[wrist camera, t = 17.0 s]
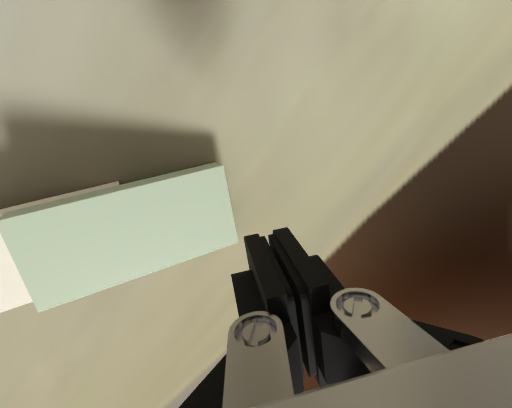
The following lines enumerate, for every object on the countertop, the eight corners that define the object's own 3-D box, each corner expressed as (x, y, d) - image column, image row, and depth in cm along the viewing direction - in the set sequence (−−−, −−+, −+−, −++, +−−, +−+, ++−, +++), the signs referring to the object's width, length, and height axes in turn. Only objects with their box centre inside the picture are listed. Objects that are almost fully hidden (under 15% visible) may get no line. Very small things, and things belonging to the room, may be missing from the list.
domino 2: (223, 165, 18) (-6, 221, 14) (238, 242, 19) (38, 312, 15) (214, 162, 19) (5, 212, 15) (229, 234, 21) (43, 296, 17)
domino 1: (119, 185, 17) (-151, 251, 13) (144, 263, 19) (-89, 342, 15) (118, 180, 18) (-126, 239, 14) (141, 253, 20) (-71, 323, 16)
